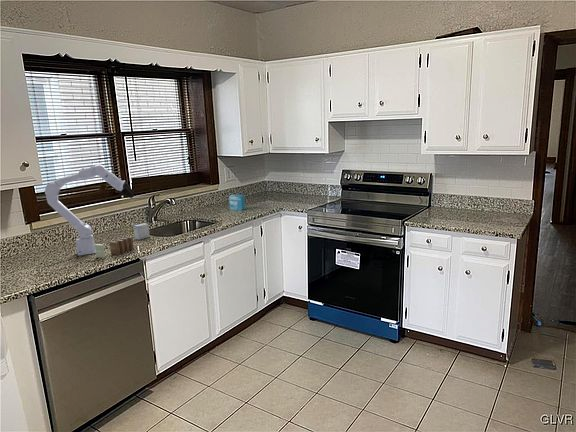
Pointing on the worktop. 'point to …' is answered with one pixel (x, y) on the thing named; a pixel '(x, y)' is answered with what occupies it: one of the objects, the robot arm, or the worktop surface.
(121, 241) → the tile
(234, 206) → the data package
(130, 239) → the head tile
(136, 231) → the medicine box
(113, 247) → the tile
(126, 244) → the tile
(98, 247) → the tile
